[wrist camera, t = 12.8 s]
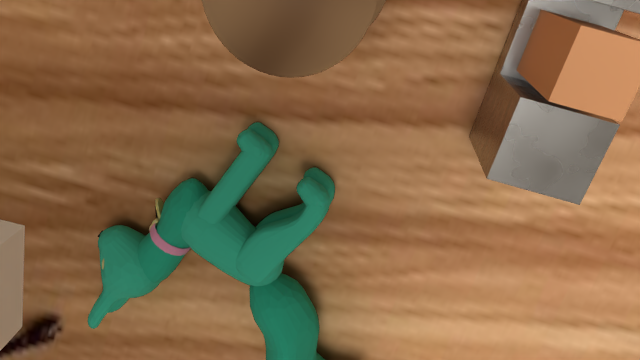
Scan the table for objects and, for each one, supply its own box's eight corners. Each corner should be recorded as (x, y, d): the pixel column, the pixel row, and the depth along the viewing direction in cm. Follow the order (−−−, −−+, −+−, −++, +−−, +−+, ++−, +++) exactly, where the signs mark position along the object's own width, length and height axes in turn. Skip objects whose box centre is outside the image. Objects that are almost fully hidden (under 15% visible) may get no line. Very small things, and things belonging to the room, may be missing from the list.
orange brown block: (540, 9, 30) (581, 25, 24) (602, 26, 30) (659, 47, 24) (516, 70, 32) (548, 101, 25) (575, 86, 32) (622, 121, 25)
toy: (179, 91, 32) (32, 314, 38) (469, 321, 33) (277, 496, 40) (220, 75, 38) (88, 268, 45) (461, 268, 39) (297, 427, 46)
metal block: (469, 136, 35) (486, 178, 29) (562, -103, 29) (609, -118, 23) (544, 157, 35) (579, 204, 29) (652, -78, 29) (725, -86, 23)
